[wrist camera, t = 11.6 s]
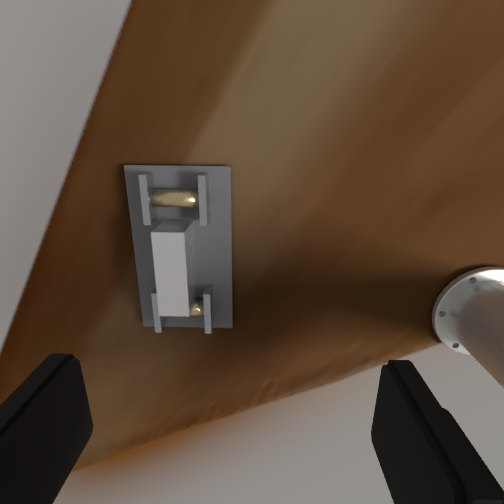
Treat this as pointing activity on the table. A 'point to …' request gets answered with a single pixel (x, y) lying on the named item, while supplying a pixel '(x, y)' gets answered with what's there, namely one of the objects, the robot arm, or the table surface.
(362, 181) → the table surface
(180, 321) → the grey flat plate
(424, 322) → the table surface
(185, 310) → the tall grey pillar block
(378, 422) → the robot arm
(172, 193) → the twin roller tray
